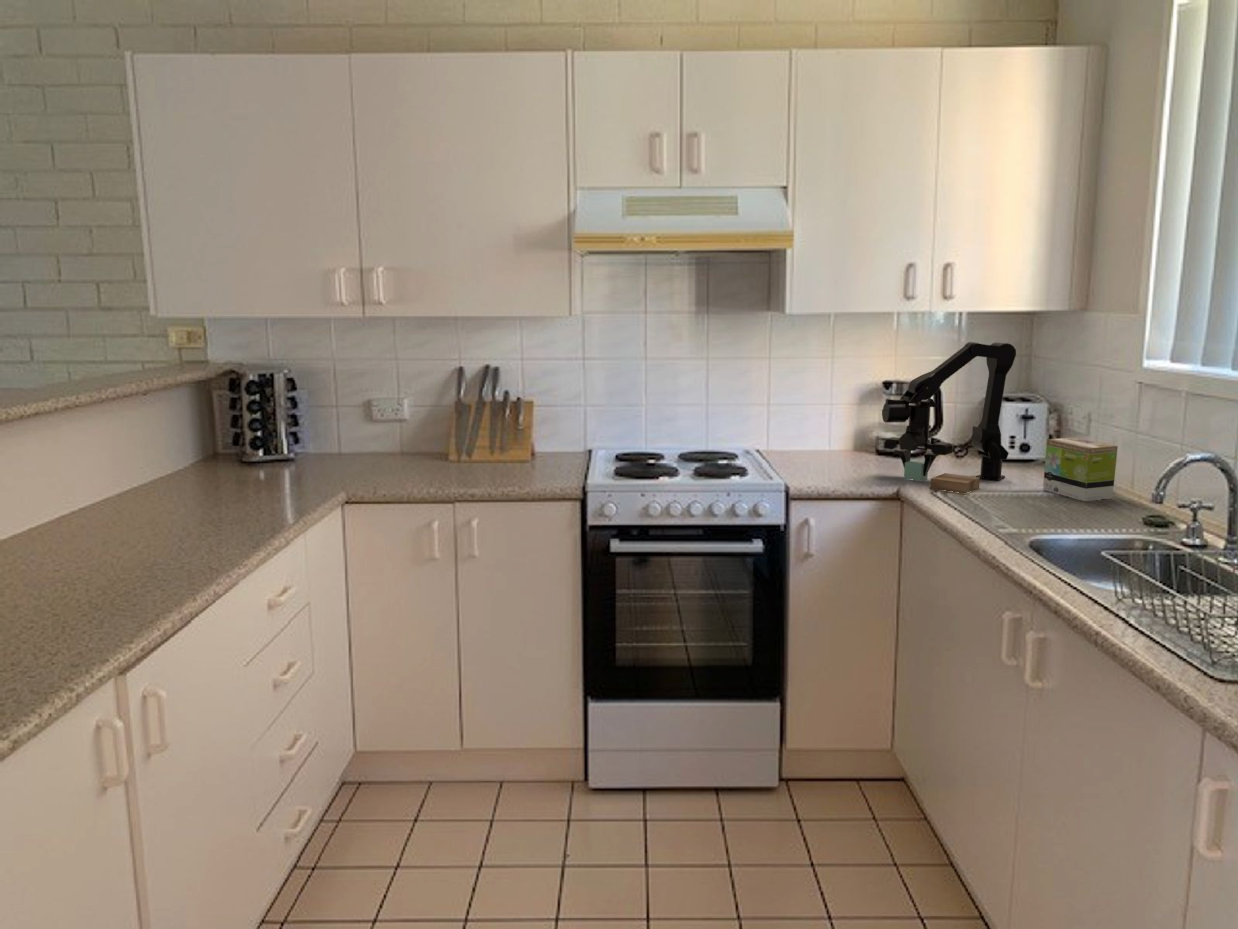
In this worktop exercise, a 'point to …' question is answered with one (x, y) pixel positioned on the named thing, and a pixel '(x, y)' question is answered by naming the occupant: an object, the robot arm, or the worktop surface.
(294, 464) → the worktop surface
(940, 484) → the walnut block
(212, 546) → the worktop surface
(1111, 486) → the tea box
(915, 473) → the teal cube
